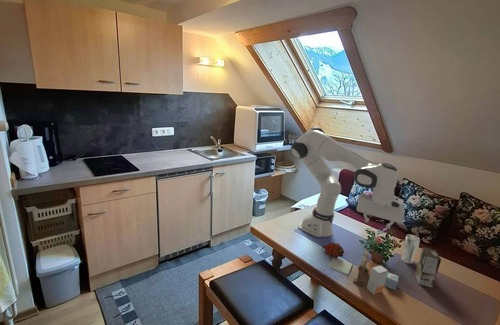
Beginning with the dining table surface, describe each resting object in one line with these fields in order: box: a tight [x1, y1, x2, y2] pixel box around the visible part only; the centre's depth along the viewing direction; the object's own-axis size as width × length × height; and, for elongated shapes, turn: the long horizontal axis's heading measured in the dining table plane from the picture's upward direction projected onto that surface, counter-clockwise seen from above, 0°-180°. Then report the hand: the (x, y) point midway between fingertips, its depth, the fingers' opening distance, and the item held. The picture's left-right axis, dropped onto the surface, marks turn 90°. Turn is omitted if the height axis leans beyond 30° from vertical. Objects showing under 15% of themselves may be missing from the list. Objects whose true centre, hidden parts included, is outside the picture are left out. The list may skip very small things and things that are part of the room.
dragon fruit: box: [322, 241, 345, 259], centre depth 149 cm, size 8×8×12 cm
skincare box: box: [366, 265, 389, 295], centre depth 125 cm, size 6×4×12 cm
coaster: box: [328, 256, 353, 276], centre depth 142 cm, size 10×10×1 cm
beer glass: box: [400, 234, 421, 265], centre depth 150 cm, size 7×7×15 cm
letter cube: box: [384, 271, 400, 291], centre depth 130 cm, size 5×5×5 cm
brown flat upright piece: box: [353, 248, 370, 287], centre depth 134 cm, size 16×4×11 cm, turn 148°
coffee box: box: [414, 247, 442, 288], centre depth 134 cm, size 9×6×16 cm
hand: (377, 224), depth 127 cm, fingers open, 8 cm apart
